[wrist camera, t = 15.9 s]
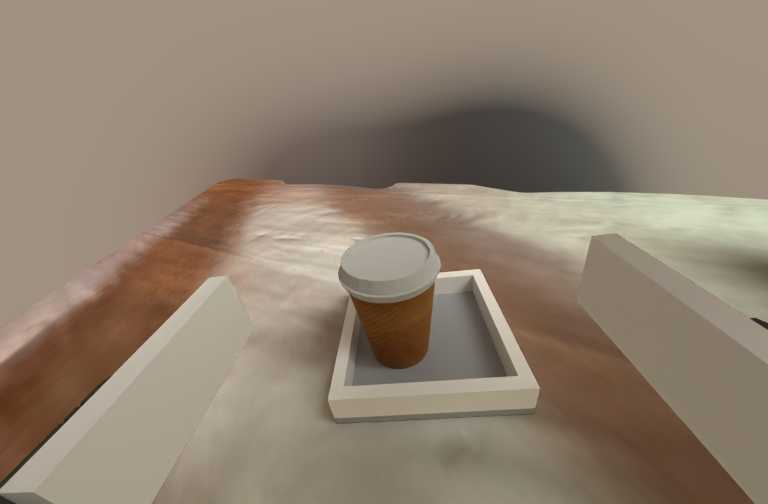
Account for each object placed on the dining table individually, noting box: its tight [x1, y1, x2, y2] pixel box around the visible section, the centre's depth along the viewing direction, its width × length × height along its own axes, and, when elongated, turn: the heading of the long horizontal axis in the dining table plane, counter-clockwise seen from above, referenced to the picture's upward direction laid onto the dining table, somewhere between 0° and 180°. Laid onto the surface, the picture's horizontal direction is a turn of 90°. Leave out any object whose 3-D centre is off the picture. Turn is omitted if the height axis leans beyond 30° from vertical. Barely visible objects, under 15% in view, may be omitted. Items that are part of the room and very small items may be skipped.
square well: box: [328, 269, 540, 423], centre depth 31 cm, size 17×17×4 cm
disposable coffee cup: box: [338, 233, 441, 369], centre depth 28 cm, size 10×10×12 cm
